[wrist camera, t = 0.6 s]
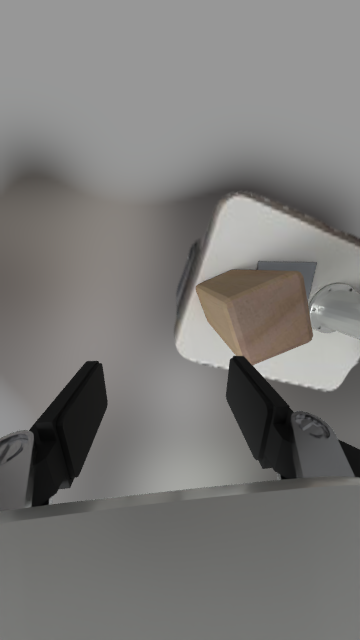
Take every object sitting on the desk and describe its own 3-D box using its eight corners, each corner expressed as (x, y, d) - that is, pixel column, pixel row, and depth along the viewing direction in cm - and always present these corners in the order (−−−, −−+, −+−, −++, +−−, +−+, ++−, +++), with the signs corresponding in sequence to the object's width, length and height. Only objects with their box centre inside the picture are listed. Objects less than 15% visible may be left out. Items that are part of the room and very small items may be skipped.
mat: (315, 262, 39) (317, 262, 39) (300, 327, 44) (301, 327, 43) (258, 261, 38) (259, 261, 37) (248, 328, 42) (249, 328, 42)
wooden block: (246, 307, 41) (318, 342, 22) (208, 323, 41) (246, 371, 22) (234, 267, 38) (306, 267, 19) (193, 285, 38) (223, 302, 19)
